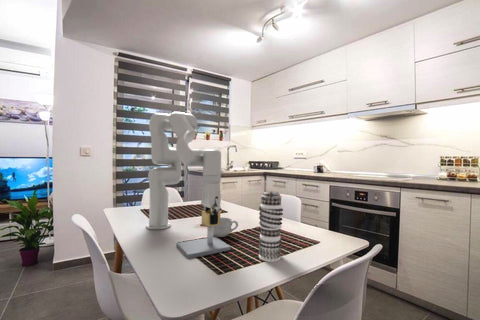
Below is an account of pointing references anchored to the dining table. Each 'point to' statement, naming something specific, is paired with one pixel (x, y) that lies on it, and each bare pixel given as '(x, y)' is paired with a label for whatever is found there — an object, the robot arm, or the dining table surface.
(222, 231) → the teacup
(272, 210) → the leaning tower model
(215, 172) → the robot arm
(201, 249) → the board
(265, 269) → the dining table surface
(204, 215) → the brass collar
